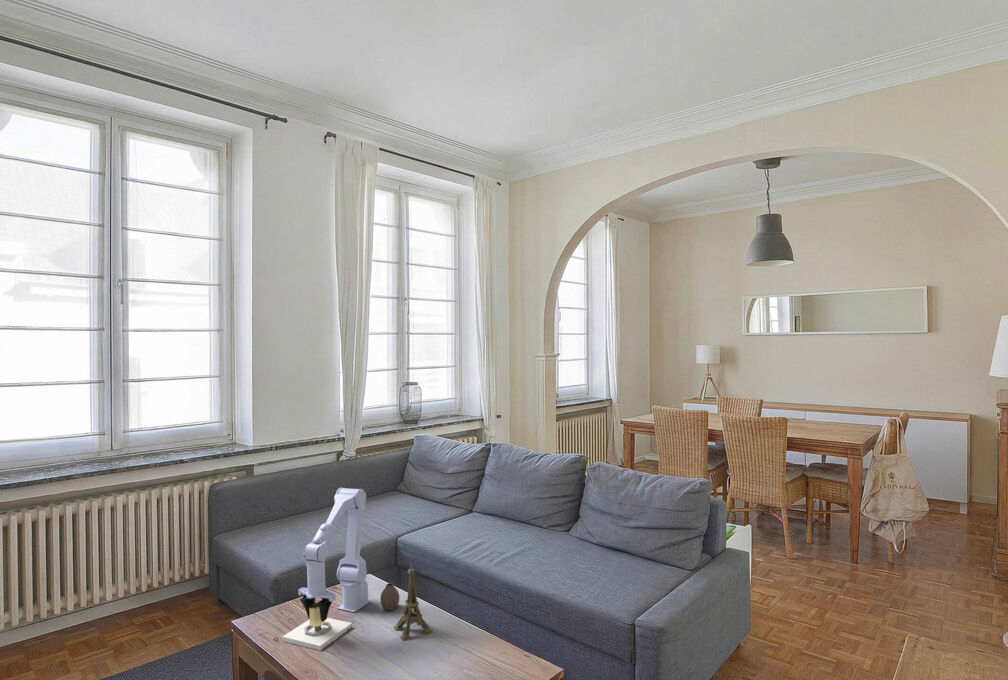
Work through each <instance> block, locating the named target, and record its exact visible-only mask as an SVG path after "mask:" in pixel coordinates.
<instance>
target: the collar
mask: <svg viewBox="0 0 1008 680" xmlns="http://www.w3.org/2000/svg"><path fill="white" fill-rule="evenodd" d="M318 602H319V601H318ZM318 602H316V601H315V603H312V604H311V605H309V618H308V620H309V619H310V626H314V627H316V626H321V625H323V624H324V623H325V621H321V617H320V609H319V606H318V604H317V603H318Z"/></svg>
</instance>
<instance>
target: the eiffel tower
mask: <svg viewBox="0 0 1008 680" xmlns="http://www.w3.org/2000/svg"><path fill="white" fill-rule="evenodd" d="M407 569H408V568H407ZM415 571H416V570H415V569H414V568H413V564H412V563H410V568H409V569H408V570H407V573H408V588H407V598H406V600H405V604H406V605H405V609H404V612H402V616H401V617H400V618H399V620H398V621H397V622H396V624H395V626H393V629H394V630H395V631H396V632H397V631H400V630H403V631H402V634H401V636H400V640H401V641H402V642H406V641H409V640H410V641H411V639H412V638H411V636H410V635H411V634H410V631H411V625H413V624H416V625H417V626H421V628H422V633H423V634H424V636H428V635H431V634H434V632H433V631H432V630H431V628H430V627H429V626H428V624H427V622H426V621H425V620H424V619H423V614H422V613H421V612H420V608H419V605H420V602H419V601H418V599H417V598H418V597H417V591H416V585H415V584H416V583H415V582H416V581H415V576H414V574H416V572H415ZM405 624H406V625H405ZM404 626H405V628H404Z"/></svg>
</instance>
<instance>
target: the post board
mask: <svg viewBox="0 0 1008 680" xmlns="http://www.w3.org/2000/svg"><path fill="white" fill-rule="evenodd" d="M351 627H352V628H353V623H352V622H348V621H344V620H339V619H335V618H330V617H327V619H326V620H325V623H324V624H323V625H321V626H316V627H314V626H310V619H309V618H308V620H306V621H304V622H303V623H302V624H300V625H298V626H297V627H295V628H293V629H292V630H291V631H289V632H287V633H285V634H284V635H283V636H281V637H282V642H285V643H289V644H293V645H298V646H301V647H305V648H307V649H308V648H309V649H312V650H317V651H321V650H323V649H324V648H326V647H327V646H329V645H330V644H331V643H333V642H334V641H335V640H337V639H339V636H340V637H341V636H343V633H344V634H345V633H346V632H347V630H348V629H349V630H351V629H352V628H351ZM350 628H351V629H350ZM349 630H348V631H349ZM332 641H333V642H332Z"/></svg>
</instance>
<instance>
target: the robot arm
mask: <svg viewBox="0 0 1008 680" xmlns="http://www.w3.org/2000/svg"><path fill="white" fill-rule="evenodd" d="M333 500H334V501H333V502H334V505H333V506H332V508H331V511H330V513H329V516H328V518H327V520H326V521H325V523H322V524H321V525H320V527H319V528H318V530H317V532H316V534H315V535H314V537H313V539H312V541H310V542H309V543H308V544H307V545H305V547H304V549H303V553H302V558H303V560H304V564H305V566H306V575H307V576H306V577H307V578H306V579H307V587H300V588H299V589H297V590H298V591H297V592H298V596H302V597H301V598H300V602H301V604H302V605H303V607H304V609H305V612H306V616H307V617H308V619H309V605H311V604H312V603H315V602H316V599H321V600H319V601H318V603H317V604H318V606H319V609H320V617H321V621H325V620H326V619H327V618H328V614H329V610H330V608H331V605H332V603H333V602H334V601H336V597H337V596H336V593H334V592H331V591H329V590H328V589H326V568H325V567H326V565H325V564H326V562H325V561H326V559H327V558H328V555H329V549H330V544H331V542H332V541H333V538H334V537H335V535H336V533H337V531H336V527H337V525H338V524H339V522H340V520H341V519H342V517H343V515H344V514H345V512H346V511H347V512H348V522H347V534H346V547H345V556H344V557H343V558H341V559H340V560H339V561H338V563H339V564H338V567H337V571H336V578H337V580H338V581H339V583H340V585H341V588H342V592H341V593H342V604H341V605H339V606H338V607H337V609H338V610H341V611H347V612H352V613H356V612H357V611H359V610H361V608H364V606H366V605H367V604H369V603H370V602H371V600H370V599H369V585H368V582H367V580H366V578H367V574H368V570H367V561H366V560H365V559H364V558H363V557H362V556H361V555H360V554H361V546H362V532H363V530H362V529H363V520H364V519H363V518H364V511H365V510H366V501H367V494H366V492H365V490H364V489H363V488H347V487H346V488H345V487H339V488H337V490H336V492H335V495H334V499H333Z"/></svg>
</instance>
